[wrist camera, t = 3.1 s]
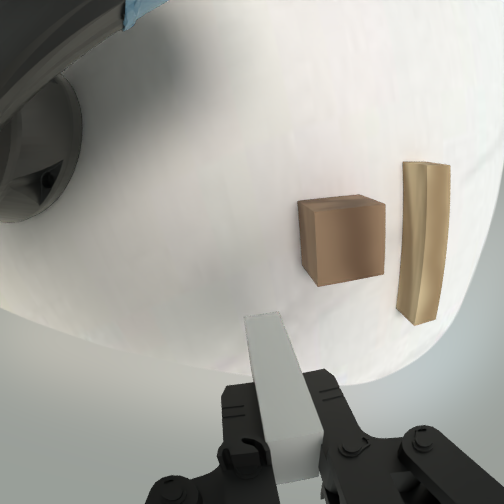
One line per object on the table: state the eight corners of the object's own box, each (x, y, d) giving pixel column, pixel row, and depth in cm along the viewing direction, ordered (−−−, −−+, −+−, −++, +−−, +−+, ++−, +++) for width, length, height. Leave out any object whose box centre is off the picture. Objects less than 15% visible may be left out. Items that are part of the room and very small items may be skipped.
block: (301, 264, 28) (317, 286, 24) (297, 200, 27) (314, 212, 22) (359, 254, 29) (383, 274, 24) (358, 194, 27) (385, 204, 22)
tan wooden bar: (396, 308, 31) (414, 325, 28) (402, 161, 26) (426, 164, 22) (416, 302, 32) (435, 319, 28) (425, 161, 26) (450, 165, 23)
